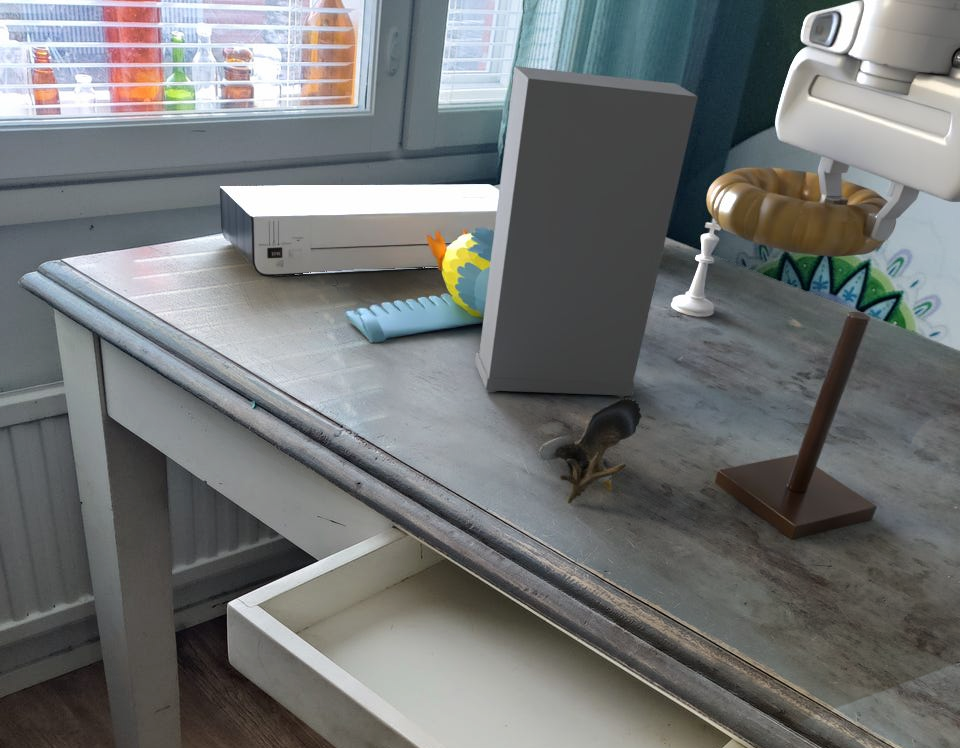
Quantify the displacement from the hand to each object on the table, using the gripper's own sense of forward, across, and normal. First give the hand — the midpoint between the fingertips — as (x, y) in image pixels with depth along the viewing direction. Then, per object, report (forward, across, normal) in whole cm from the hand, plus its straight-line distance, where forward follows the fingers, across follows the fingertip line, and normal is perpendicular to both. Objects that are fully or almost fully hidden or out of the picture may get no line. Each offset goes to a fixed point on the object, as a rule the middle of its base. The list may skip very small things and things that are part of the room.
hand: (850, 228), depth 83 cm
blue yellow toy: (+17, +27, +18) cm, 37 cm away
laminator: (+17, +48, +20) cm, 54 cm away
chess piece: (+17, +25, -9) cm, 32 cm away
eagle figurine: (+17, -5, +27) cm, 32 cm away
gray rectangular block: (+17, +12, +19) cm, 28 cm away
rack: (+17, -13, +12) cm, 24 cm away
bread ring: (0, +6, 0) cm, 6 cm away
